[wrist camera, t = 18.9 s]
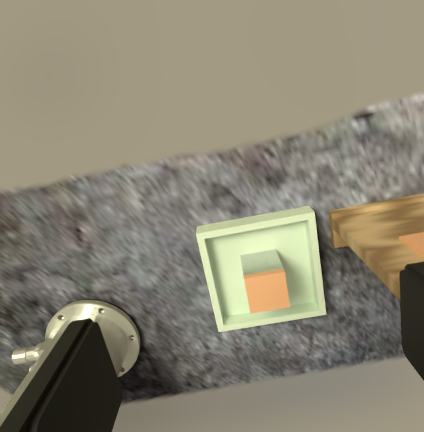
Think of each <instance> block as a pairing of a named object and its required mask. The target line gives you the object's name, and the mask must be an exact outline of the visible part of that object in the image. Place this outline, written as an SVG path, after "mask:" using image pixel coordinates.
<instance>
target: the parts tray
mask: <svg viewBox="0 0 424 432" xmlns="http://www.w3.org/2000/svg"><path fill="white" fill-rule="evenodd" d="M196 236H197V241H198V245H199V249H200V254H201V258H202V262H203V267H204V271H205V275H206V280H207V284H208V288H209V292H210V297H211V301H212V305H213V310H214V314H215V318H216V323H217V327H218V331H219V332H222V331H228V330H235V329H241V328H247V327H253V326H259V325H265V324H272V323H278V322H284V321H290V320H296V319H302V318H309V317H315V316H321V315H326V308H325V299H324V290H323V281H322V273H321V264H320V255H319V246H318V238H317V229H316V220H315V212H314V211H313V210H312V209H311V208H310V206H305V207H299V208H294V209H288V210H283V211H278V212H272V213H267V214H262V215H256V216H251V217H245V218H240V219H235V220H229V221H224V222H219V223H213V224H208V225H202V226H197V230H196ZM273 249H276V251H277V254H278V256H279V259H280V261H281V264H282V266H283V268H284V271H285V276H286V283H287V290H288V296H289V303H290V307H288V308H282V309H276V310H270V311H264V312H258V313H252V314H250V309H249V303H248V298H247V293H246V287H245V282H244V277H243V270H242V264H241V257H240V255H244V254H250V253H256V252H261V251H267V250H273Z"/></svg>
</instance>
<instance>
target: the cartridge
mask: <svg viewBox="0 0 424 432" xmlns="http://www.w3.org/2000/svg"><path fill="white" fill-rule="evenodd" d="M240 257H241V264H242V270H243V277H244V282H245V287H246V293H247V298H248V303H249V309H250V314H252V313H258V312H264V311H270V310H276V309H282V308H288V307H290V303H289V296H288V290H287V283H286V276H285V271H284V268H283V266H282V264H281V261H280V259H279V256H278V254H277V251H276V249H273V250H267V251H261V252H256V253H250V254H244V255H240Z"/></svg>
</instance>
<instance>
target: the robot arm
mask: <svg viewBox="0 0 424 432" xmlns="http://www.w3.org/2000/svg"><path fill="white" fill-rule="evenodd" d="M399 279H400V306H401V334H402V348H403V351H404V354H405V356H406V357H407V359H408V360H409V361H410V363H411V364H412V366H413V367H414V368H415V369H416V371H417V372H418V374H419V375H420V376H421V377H422V379H423V380H424V261H423V262H418V263H412V264H407V265H406V266H405V269H404V270H401V271H400V274H399ZM139 350H140V336H139V332H138V329H137V327H136V325H135V323H134V322H133V321H132V320H131V318H130V317H129V316H128V315H127V314H126V313H125V312H123V311H122V310H120V309H119V308H117V307H116V306H113V305H111V304H109V303H106V302H102V301H98V300H80V301H76V302H73V303H70V304H68V305H66V306H64V307H63V308H61V309H60V310H59V311H58V312H57V313H56V314H55V315H54V316H53V318H52V319H51V321H50V322H49V324H48V326H47V329H46V335H45V341H44V342H42V343H38V344H37V345H36V346H35V347H25V348H19V349H15V350H14V352H13V354H12V361H13V363H14V364H22V363H28V362H31V361H36V363H35V364H34V365H31V366H30V369H29V373H28V374H27V376H26V377H25V379H24V380H23V381H22V383H21V384H20V386H19V387H18V389H17V390H16V391H15V393H14V394H13V396H12V397H11V399H10V400H9V401H8V403H7V404H6V406H5V407H4V409H3V410H2V411H1V413H0V432H112V429H113V426H114V422H115V419H116V416H117V413H118V410H119V407H120V404H121V401H122V388H121V385H120V382H119V379H118V377H120V376H122V375H123V374H125V373H126V372H128V371H129V370H130V369H131V367H132V366H133V365H134V363H135V362H136V360H137V357H138V354H139Z"/></svg>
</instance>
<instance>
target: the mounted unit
mask: <svg viewBox="0 0 424 432" xmlns="http://www.w3.org/2000/svg"><path fill="white" fill-rule="evenodd" d="M328 213H329V223H330V232H331V242H332V245H333V247H334V248H339V247H345V246H349V247H350V248H351V249H352V250H353V251H354V252H355V253H356V254H357V255H358V256H359V257H360V259H361V260H362V261H363V262H364V263H365V264H366V265H367V266H368V267H369V268H370V269H371V270H372V271H373V273H374V274H375V275H376V276H377V277H378V278H379V279H380V280H381V281H382V282H383V283H384V284H385V285H386V286H387V288H388V289H389V290H390V291H391V292H392V293H393V294H394V295H395V296H396V297H397V298H398V299H399V300H400V279H399V274H400V271H401V270H404V269H405V266H406V265H407V264H412V263H418V262H423V261H424V193H423V194H418V195H412V196H407V197H401V198H396V199H390V200H385V201H380V202H374V203H369V204H363V205H358V206H352V207H347V208H342V209H336V210H331V211H328Z"/></svg>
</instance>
